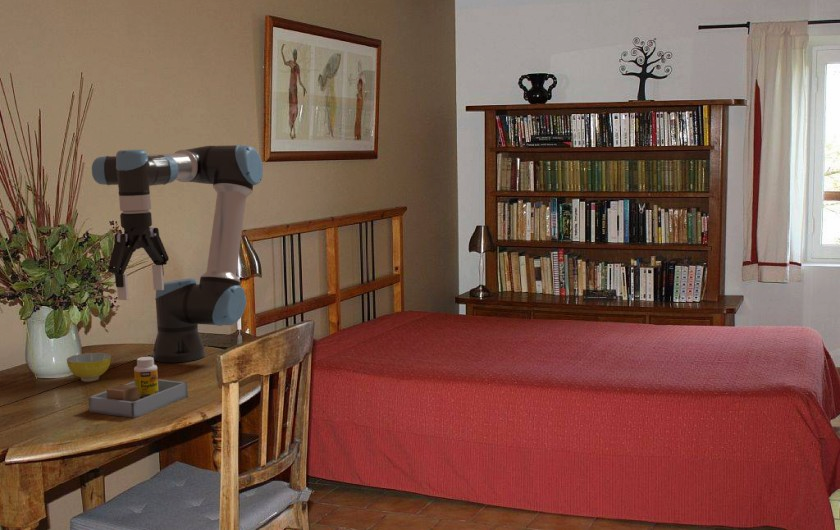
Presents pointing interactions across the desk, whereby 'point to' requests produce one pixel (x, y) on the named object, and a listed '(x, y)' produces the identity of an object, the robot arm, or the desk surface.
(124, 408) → the tray
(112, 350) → the desk surface
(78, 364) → the bowl
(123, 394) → the walnut cube
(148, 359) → the supplement bottle
